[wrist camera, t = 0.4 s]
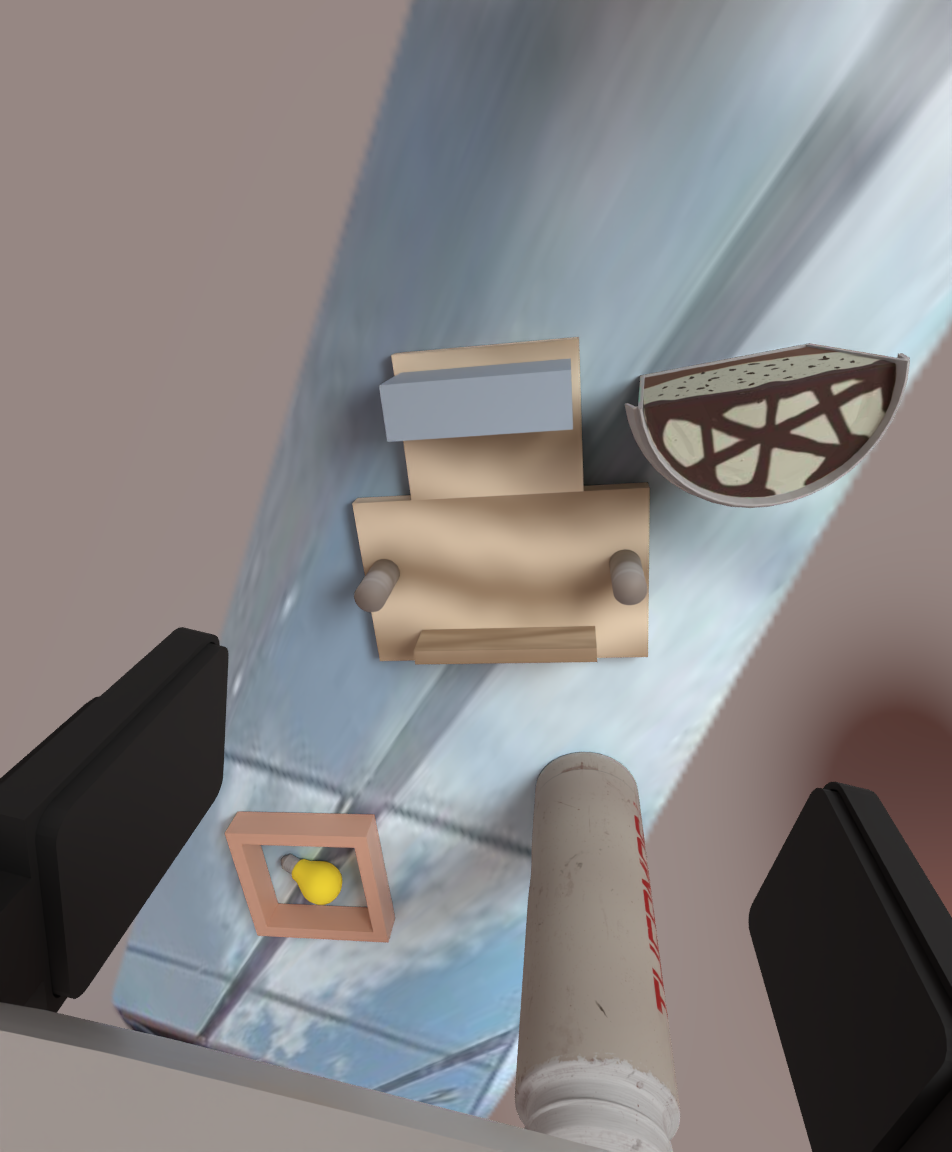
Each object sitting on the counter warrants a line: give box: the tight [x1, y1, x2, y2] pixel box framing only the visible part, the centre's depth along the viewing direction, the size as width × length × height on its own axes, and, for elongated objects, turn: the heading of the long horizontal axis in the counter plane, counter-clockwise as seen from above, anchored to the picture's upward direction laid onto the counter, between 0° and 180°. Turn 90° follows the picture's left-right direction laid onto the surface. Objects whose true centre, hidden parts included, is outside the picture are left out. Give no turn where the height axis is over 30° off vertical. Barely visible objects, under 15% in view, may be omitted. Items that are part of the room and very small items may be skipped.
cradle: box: [352, 337, 650, 664], centre depth 42 cm, size 21×19×5 cm
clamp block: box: [379, 358, 573, 442], centre depth 37 cm, size 3×10×5 cm, turn 96°
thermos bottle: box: [515, 752, 680, 1152], centre depth 40 cm, size 8×8×28 cm
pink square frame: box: [225, 812, 395, 942], centre depth 59 cm, size 12×12×2 cm
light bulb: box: [281, 854, 342, 905], centre depth 59 cm, size 3×6×4 cm, turn 75°
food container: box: [625, 343, 910, 508], centre depth 35 cm, size 12×6×10 cm, turn 102°
